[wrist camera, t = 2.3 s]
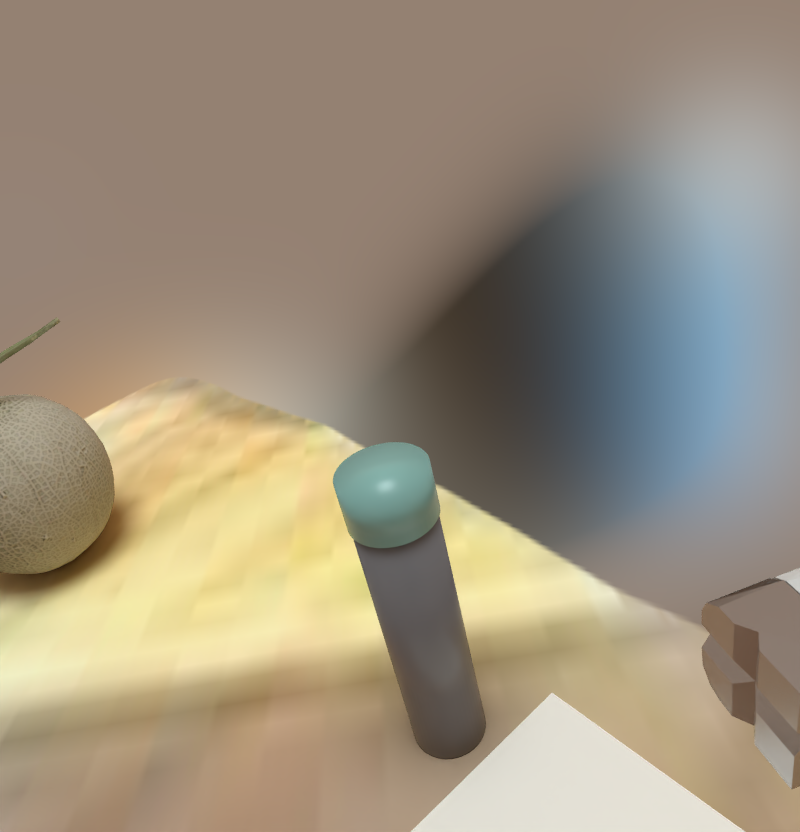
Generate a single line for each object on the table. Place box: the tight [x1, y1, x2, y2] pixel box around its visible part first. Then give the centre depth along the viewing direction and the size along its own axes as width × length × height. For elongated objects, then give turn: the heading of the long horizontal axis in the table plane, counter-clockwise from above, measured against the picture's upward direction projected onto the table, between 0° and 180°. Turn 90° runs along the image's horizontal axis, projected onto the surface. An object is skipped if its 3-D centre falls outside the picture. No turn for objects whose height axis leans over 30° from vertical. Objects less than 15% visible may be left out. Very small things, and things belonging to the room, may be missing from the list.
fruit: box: [0, 318, 114, 574], centre depth 45 cm, size 10×12×15 cm
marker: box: [333, 442, 486, 759], centre depth 28 cm, size 3×3×14 cm
